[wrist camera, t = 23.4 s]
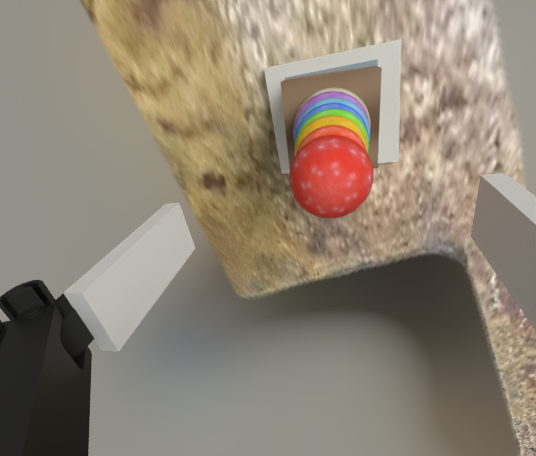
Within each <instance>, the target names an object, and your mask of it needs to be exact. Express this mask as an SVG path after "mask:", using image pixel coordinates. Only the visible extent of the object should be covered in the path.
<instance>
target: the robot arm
mask: <svg viewBox="0 0 536 456" xmlns="http://www.w3.org/2000/svg"><path fill="white" fill-rule="evenodd" d="M471 238H472V239H473V240H474V242H475V243H476V245H477V246H478V248H479V249H480V251H481V252H482V253H483V255H484V256H485V258H486V259H487V261H488V262H489V263H490V265H491V266H492V268H493V269H494V271H495V272H496V274H497V275H498V276H499V278H500V279H501V281H502V282H503V284H504V285H505V286H506V288H507V289H508V291H509V292H510V294H511V295H512V296H513V298H514V299H515V301H516V302H517V304H518V305H519V307H520V308H521V309H522V311H523V312H524V314H525V315H526V317H527V318H528V319H529V321H530V322H531V324H532V325H533V327H534V328H535V330H536V197H535V196H534V195H533V194H531V193H530V192H529V191H527V190H526V189H525V188H523V187H522V186H521V185H519V184H518V183H517V182H515V181H514V180H513V179H511V178H510V177H509V176H507V175H506V174H505V173H501V174H490V175H481V177H480V183H479V189H478V196H477V202H476V208H475V214H474V220H473V227H472V233H471ZM194 249H195V246H194V243H193V240H192V237H191V235H190V232H189V229H188V226H187V223H186V221H185V218H184V215H183V212H182V210H181V207H180V204H179V203H169V204H165V205H164V206H163V207H162V208H160V209H159V210H158V211H157V212H156V213H155V214H154V215H152V216H151V217H150V218H149V219H148V220H147V221H145V222H144V223H143V224H142V225H141V226H140V227H139V228H137V229H136V230H135V231H134V232H133V233H132V234H131V235H130V236H128V237H127V238H126V239H125V240H124V241H123V242H121V243H120V244H119V245H118V246H117V247H116V248H114V250H112V251H111V252H110V253H109V254H108V255H106V256H105V257H104V258H103V259H102V260H101V261H99V262H98V263H97V264H96V265H95V266H94V267H92V268H91V269H90V270H89V271H88V272H87V273H86V274H85V275H83V276H82V277H81V278H80V279H79V280H77V281H76V282H75V283H74V284H73V285H72V286H71V287H69V288H68V289H67V290H66V291H65V292H64V293H63V294H62V295H61V296H60V297H59V298H58V299H57V300H55V299H54V297H53V296H52V294H51V293H50V292H49V290H48V289H47V287H46V286H45V284H44V283H43V281H40V280H32V281H29V282H26V283H23V284H21V285H18V286H16V287H14V288H13V289H11V290H9V291H7V292H6V293H5V294H4V295H2V296H1V297H0V308H1V309H2V311H3V312H4V313H5V314H6V315H7V317H8V318H9V319H10V320H11V321H6V322H3V323H2V322H1V320H0V456H88V443H89V442H88V441H89V416H90V388H91V386H90V385H91V359H92V358H91V357H92V354H91V351H90V349H89V348H88V345H89V344H90V343H91V342H92V340H93V339H94V340H95V341H96V343H97V344H98V346H99V347H100V349H101V350H104V351H119V350H120V349H121V347H122V346H123V345H124V344H125V342H126V341H127V340H128V338H129V337H130V336H131V334H132V333H133V331H134V330H135V329H136V327H137V326H138V325H139V323H140V322H141V321H142V319H143V318H144V317H145V315H146V314H147V313H148V311H149V310H150V309H151V307H152V306H153V305H154V303H155V302H156V301H157V299H158V298H159V297H160V295H161V294H162V293H163V291H164V290H165V289H166V287H167V286H168V284H169V283H170V282H171V280H172V279H173V278H174V276H175V275H176V274H177V272H178V271H179V270H180V268H181V267H182V266H183V264H184V263H185V261H186V260H187V259H188V258H189V256H190V255H191V253H192V252H193V251H194Z"/></svg>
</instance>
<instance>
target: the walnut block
mask: <svg viewBox="0 0 536 456" xmlns="http://www.w3.org/2000/svg"><path fill="white" fill-rule="evenodd" d="M381 72H382V68H381V67H377V66H370V67H363V68H356V69H349V70H342V71H335V72H328V73H321V74H314V75H307V76H300V77H293V78H289V79H286V80H284V81H282V82H281V91H282V101H283V111H284V120H285V130H286V140H287V149H288V159H289V169H290V168H291V165H292V162H293V160H294V158H295V146H294V139H293V125H294V121H295V117H296V114H297V112H298V110H299V108H300V106H301V105H302V104H303V102H304V101H305V100H306V99H307V98H308V97H310V96H311V95H312V94H314V93H316V92H318V91H320V90H322V89H326V88H343V89H346V90H349V91H351V92H353V93H354V94H356V95H357V96H358V97H359V98H360V99H361V100H362V101H363V102H364V104H365V105H366V107H367V109H368V112H369V116H370V122H371V126H370V139H369V148H368V156H369V158H370V160H371V163H372V167H373V168H378V145H379V121H380V97H381Z"/></svg>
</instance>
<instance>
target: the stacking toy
mask: <svg viewBox="0 0 536 456" xmlns="http://www.w3.org/2000/svg"><path fill="white" fill-rule="evenodd" d="M370 126H371V122H370V116H369V112H368V109H367V107H366V105H365V104H364V102H363V101H362V100H361V99H360V98H359V97H358V96H357V95H356V94H354V93H353V92H351V91H349V90H346V89H343V88H326V89H322V90H320V91H318V92H316V93H314V94H312V95H311V96H310V97H308V98H307V99H306V100H305V101H304V102H303V104H302V105H301V106H300V108H299V110H298V112H297V114H296V117H295V121H294V125H293V139H294V146H295V158H294V160H293V162H292V165H291V168H290V175H289V181H290V187H291V191H292V193H293V196H294V198H295V199H296V201H297V202H298V203H299V205H300V206H301V207H302V208H303V209H305V210H306V211H307V212H309V213H311V214H313V215H316V216H319V217H322V218H337V217H341V216H345V215H347V214H349V213H351V212H353V211H355V210H356V209H357V208H358V207H359V206H360V205H361V204H362V203H363V202H364V201H365V199H366V198H367V196H368V195H369V193H370V190H371V187H372V183H373V167H372V163H371V160H370V158H369V156H368V148H369V139H370Z"/></svg>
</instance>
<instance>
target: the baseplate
mask: <svg viewBox="0 0 536 456" xmlns="http://www.w3.org/2000/svg"><path fill="white" fill-rule="evenodd" d="M370 66H377V67H381V68H382V72H381V97H380V121H379V145H378V164H379V163H389V162H398V161H399V117H400V71H401V39H399V40H395V41H390V42H385V43H381V44H376V45H371V46H366V47H362V48H357V49H352V50H348V51H343V52H338V53H333V54H329V55H324V56H319V57H315V58H310V59H305V60H300V61H296V62H291V63H286V64H282V65H277V66H272V67H267V68H264V72H265V78H266V84H267V90H268V96H269V102H270V108H271V114H272V120H273V126H274V132H275V138H276V144H277V150H278V156H279V162H280V168H281V174H287V173H290V169H289V159H288V149H287V140H286V130H285V120H284V111H283V101H282V91H281V82H282V81H284V80H286V79H289V78H293V77H300V76H307V75H314V74H321V73H328V72H335V71H342V70H349V69H356V68H363V67H370Z"/></svg>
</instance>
